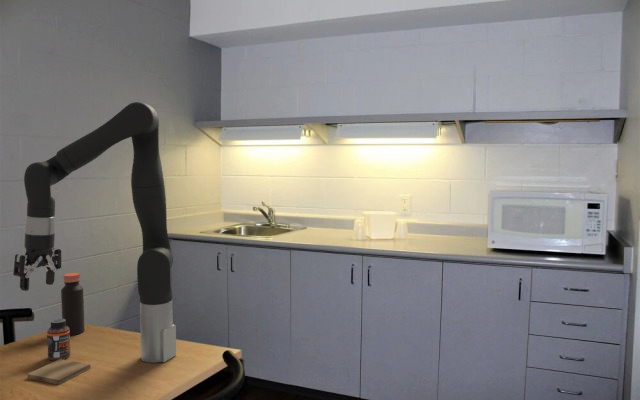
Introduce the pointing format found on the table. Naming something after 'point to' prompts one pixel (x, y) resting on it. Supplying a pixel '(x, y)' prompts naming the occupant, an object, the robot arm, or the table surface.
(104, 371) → the table surface
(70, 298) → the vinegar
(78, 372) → the tan board
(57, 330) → the supplement bottle
